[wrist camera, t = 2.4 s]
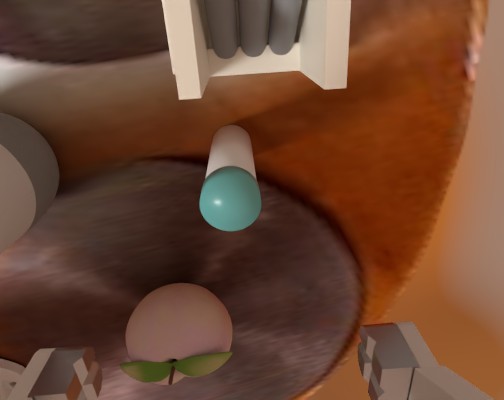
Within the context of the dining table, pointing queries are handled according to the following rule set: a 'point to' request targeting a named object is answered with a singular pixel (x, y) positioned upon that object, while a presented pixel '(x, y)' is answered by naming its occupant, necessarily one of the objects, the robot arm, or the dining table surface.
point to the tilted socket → (257, 40)
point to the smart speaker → (24, 178)
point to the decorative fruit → (177, 335)
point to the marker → (230, 181)
